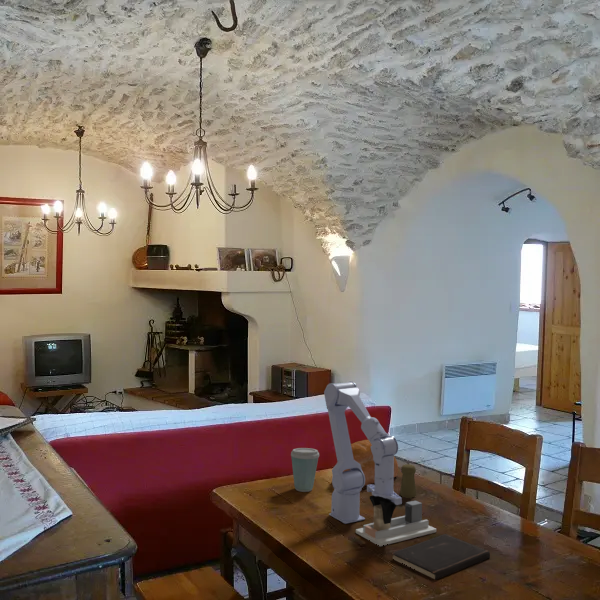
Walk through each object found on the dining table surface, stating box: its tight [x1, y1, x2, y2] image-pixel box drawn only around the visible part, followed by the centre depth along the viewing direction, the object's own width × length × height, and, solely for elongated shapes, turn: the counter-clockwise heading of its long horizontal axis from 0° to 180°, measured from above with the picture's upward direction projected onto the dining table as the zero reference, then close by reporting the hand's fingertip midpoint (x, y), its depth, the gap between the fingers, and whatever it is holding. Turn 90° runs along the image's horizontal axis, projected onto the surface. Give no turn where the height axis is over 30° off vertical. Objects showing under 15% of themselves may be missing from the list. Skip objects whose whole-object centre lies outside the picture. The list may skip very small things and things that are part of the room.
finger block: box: [373, 505, 391, 531], centre depth 200 cm, size 3×4×7 cm, turn 121°
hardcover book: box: [390, 533, 491, 581], centre depth 185 cm, size 16×23×2 cm
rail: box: [355, 500, 437, 547], centre depth 203 cm, size 12×22×8 cm, turn 121°
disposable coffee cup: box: [290, 447, 320, 493], centre depth 243 cm, size 11×11×15 cm
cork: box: [399, 463, 417, 499], centre depth 238 cm, size 6×6×11 cm
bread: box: [343, 439, 399, 487], centre depth 256 cm, size 14×26×15 cm, turn 130°
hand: (383, 521), depth 200 cm, fingers closed on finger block, 3 cm apart
